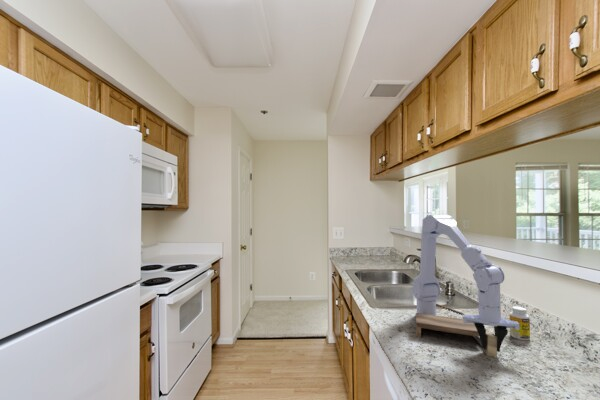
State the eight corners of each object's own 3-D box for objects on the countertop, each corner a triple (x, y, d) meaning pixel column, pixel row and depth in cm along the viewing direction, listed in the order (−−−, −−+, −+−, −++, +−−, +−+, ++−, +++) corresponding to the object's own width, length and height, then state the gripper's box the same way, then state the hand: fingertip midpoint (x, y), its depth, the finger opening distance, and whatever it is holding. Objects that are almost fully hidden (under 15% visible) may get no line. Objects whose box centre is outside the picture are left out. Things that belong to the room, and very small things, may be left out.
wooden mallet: (471, 336, 96) (471, 319, 97) (481, 338, 96) (481, 320, 96) (487, 355, 84) (487, 335, 84) (499, 357, 83) (499, 337, 83)
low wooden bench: (416, 325, 106) (415, 312, 106) (476, 335, 98) (475, 320, 98) (416, 336, 97) (416, 322, 97) (482, 347, 89) (482, 332, 89)
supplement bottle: (523, 342, 93) (522, 311, 93) (506, 335, 98) (505, 306, 99) (534, 339, 95) (533, 309, 95) (516, 332, 100) (515, 304, 101)
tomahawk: (472, 315, 120) (472, 312, 120) (461, 316, 117) (461, 313, 117) (434, 302, 138) (435, 299, 138) (424, 302, 135) (424, 299, 135)
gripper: (464, 305, 85) (465, 350, 84) (522, 312, 79) (524, 360, 78) (461, 299, 91) (462, 340, 90) (514, 304, 86) (515, 349, 85)
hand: (490, 349), depth 85 cm, fingers closed on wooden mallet, 3 cm apart
